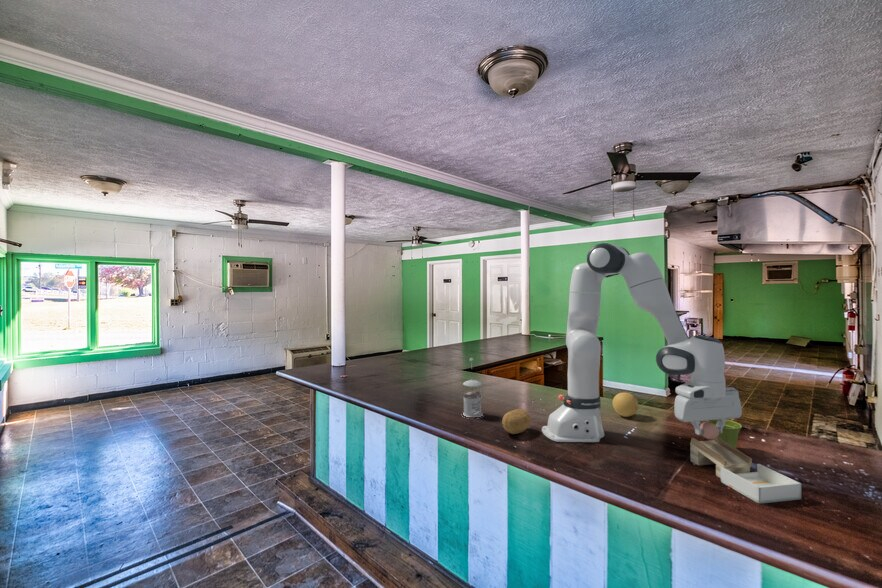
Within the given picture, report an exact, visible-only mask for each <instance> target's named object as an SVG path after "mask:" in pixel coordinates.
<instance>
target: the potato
mask: <svg viewBox="0 0 882 588" xmlns="http://www.w3.org/2000/svg"><path fill="white" fill-rule="evenodd" d="M530 424H531V417H530V414H529V413H528V412H527V411H526V410H525V409H523V408H516V409H513V410H510V411H508V412H506V413H505V414H504V415H503V417H502V420H501V425H502V427H503V429H504V430H505V431H506V432H507V433H509V434H510V435H516V434H520V433H523V432H525V431H526V430H527V429H528V428H529V427H530V426H531V425H530Z"/></svg>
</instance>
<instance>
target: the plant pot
mask: <svg viewBox="0 0 882 588" xmlns="http://www.w3.org/2000/svg"><path fill="white" fill-rule="evenodd" d="M706 422H710V423H713V424H714V425H716V424H717V420H706ZM742 428H743V426H742V424H741V423H739V422H736V421H733V420H731V419H726V423H725V425H724V427H723V428H722V433H719V435H718V437H719V438H720V439H722V440H724V441H725V442H727V443H728V444H730V445H731V446H733V447H734V448H736V449H737V443H738V438H739V433H740V431H741V429H742ZM711 440H714V439H711Z"/></svg>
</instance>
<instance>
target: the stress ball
mask: <svg viewBox="0 0 882 588" xmlns="http://www.w3.org/2000/svg"><path fill="white" fill-rule="evenodd" d="M612 407H613V409H614V411H615V412H616V413H617V414H618V415H619V416H621V417H623V418H629V417H632V416H634V415H635V414H636V413H637V412H638V410H639V409H640V407H639V402H638V399H637V397H635V396H634V395H633V394H632V393H630V392H619V393H617V394H616V395H614V397H613V399H612Z"/></svg>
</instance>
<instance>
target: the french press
mask: <svg viewBox="0 0 882 588" xmlns="http://www.w3.org/2000/svg"><path fill="white" fill-rule="evenodd" d="M474 361H475V360H474V358H473V357H470V358H469V362H471V363H470V365H471V368H473V362H474ZM462 385H463V387H466V388H477V389H478V391H477V390H467V391H464V395H463V412H462V413H463V415H464V416H466V417H481V416H483V414H484V413H483V412H482V399H483V395H484V394H483V387H482V383H481V382H480V381H478V380H476V379H469V380H466V381H464V382H463V383H462ZM480 389H481V391H480ZM483 417H484V416H483ZM481 418H482V417H481Z"/></svg>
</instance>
